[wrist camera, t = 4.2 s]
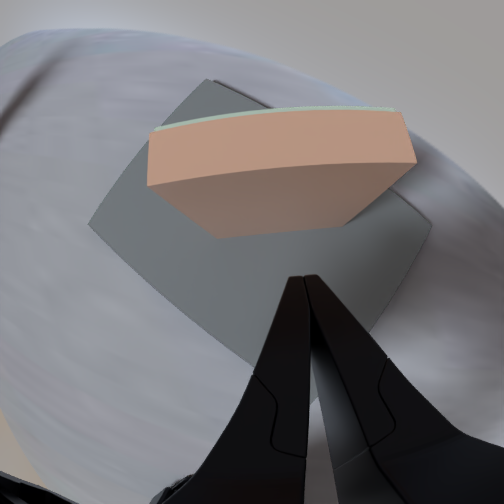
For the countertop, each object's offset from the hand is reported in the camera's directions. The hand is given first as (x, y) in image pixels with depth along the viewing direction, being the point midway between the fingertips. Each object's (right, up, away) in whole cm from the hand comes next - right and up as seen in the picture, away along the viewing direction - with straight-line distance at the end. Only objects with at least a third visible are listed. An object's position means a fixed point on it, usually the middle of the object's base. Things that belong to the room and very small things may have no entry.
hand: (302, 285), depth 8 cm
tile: (0, +3, +7) cm, 8 cm away
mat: (-1, +3, +8) cm, 9 cm away
